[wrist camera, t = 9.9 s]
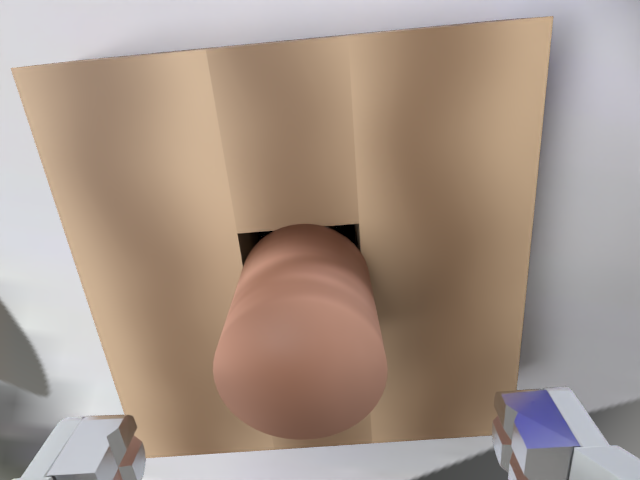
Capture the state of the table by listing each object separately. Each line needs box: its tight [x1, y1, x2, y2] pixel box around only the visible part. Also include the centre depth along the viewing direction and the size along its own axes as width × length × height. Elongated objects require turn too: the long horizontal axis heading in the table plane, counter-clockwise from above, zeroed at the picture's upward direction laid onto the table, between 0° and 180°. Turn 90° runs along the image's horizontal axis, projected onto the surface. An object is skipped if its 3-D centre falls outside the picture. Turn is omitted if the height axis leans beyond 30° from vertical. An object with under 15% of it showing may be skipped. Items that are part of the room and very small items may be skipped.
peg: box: [213, 224, 388, 440], centre depth 16 cm, size 5×5×8 cm
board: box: [11, 16, 553, 458], centre depth 19 cm, size 16×16×4 cm
